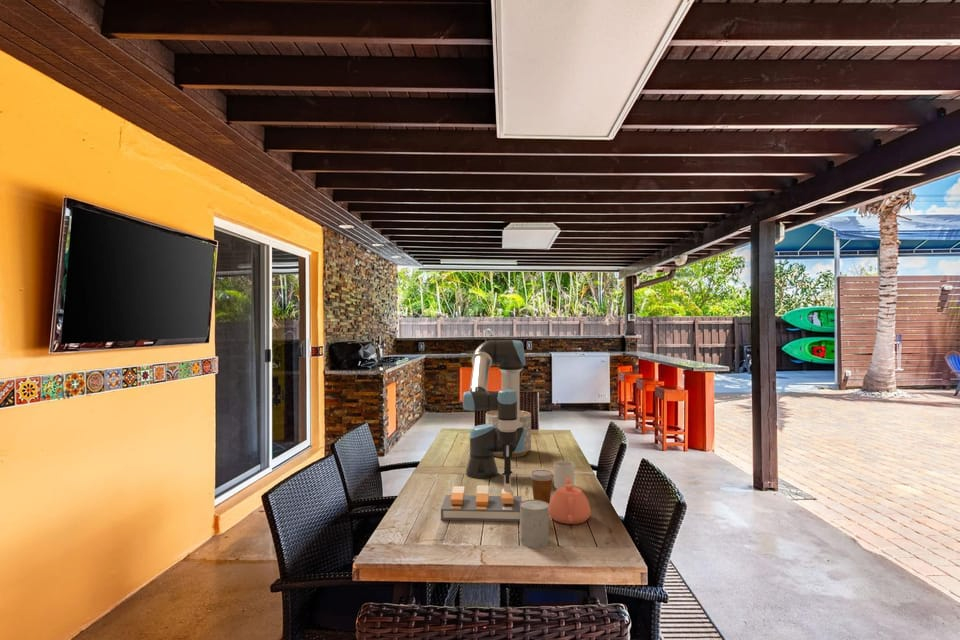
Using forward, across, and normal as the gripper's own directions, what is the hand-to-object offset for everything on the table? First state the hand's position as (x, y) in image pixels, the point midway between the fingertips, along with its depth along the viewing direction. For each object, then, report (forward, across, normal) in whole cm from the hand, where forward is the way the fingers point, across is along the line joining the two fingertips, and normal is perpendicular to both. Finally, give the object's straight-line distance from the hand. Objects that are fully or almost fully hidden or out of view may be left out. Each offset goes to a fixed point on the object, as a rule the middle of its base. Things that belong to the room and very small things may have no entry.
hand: (507, 491), depth 203 cm
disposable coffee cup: (+8, -10, +14) cm, 19 cm away
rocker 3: (+2, +3, 0) cm, 4 cm away
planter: (+7, -91, 0) cm, 92 cm away
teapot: (+8, +6, +23) cm, 25 cm away
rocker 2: (+1, +3, -10) cm, 10 cm away
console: (+7, +3, -10) cm, 13 cm away
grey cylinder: (+8, +29, +9) cm, 31 cm away
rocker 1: (+1, +3, -19) cm, 19 cm away
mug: (+8, -30, +25) cm, 40 cm away
